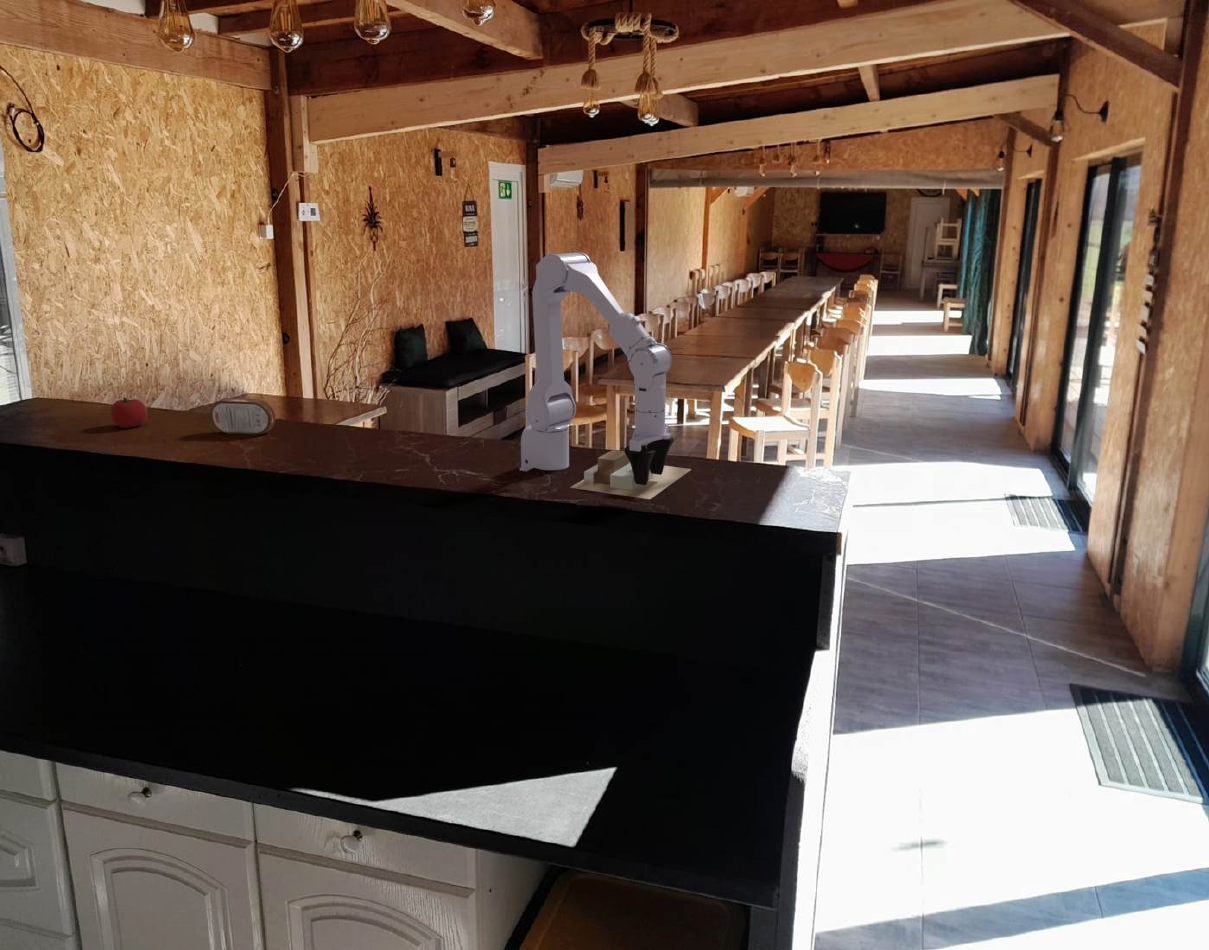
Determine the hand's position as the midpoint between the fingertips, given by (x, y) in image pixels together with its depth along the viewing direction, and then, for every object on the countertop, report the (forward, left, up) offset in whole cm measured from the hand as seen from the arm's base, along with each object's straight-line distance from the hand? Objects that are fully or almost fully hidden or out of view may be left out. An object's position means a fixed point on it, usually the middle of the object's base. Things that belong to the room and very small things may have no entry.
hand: (649, 478), depth 180 cm
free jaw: (-4, 0, -1) cm, 4 cm away
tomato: (-133, -8, -3) cm, 134 cm away
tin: (-103, -1, -3) cm, 103 cm away
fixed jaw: (-10, 0, -2) cm, 11 cm away
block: (-8, 0, -1) cm, 8 cm away
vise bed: (-5, +3, -2) cm, 6 cm away
